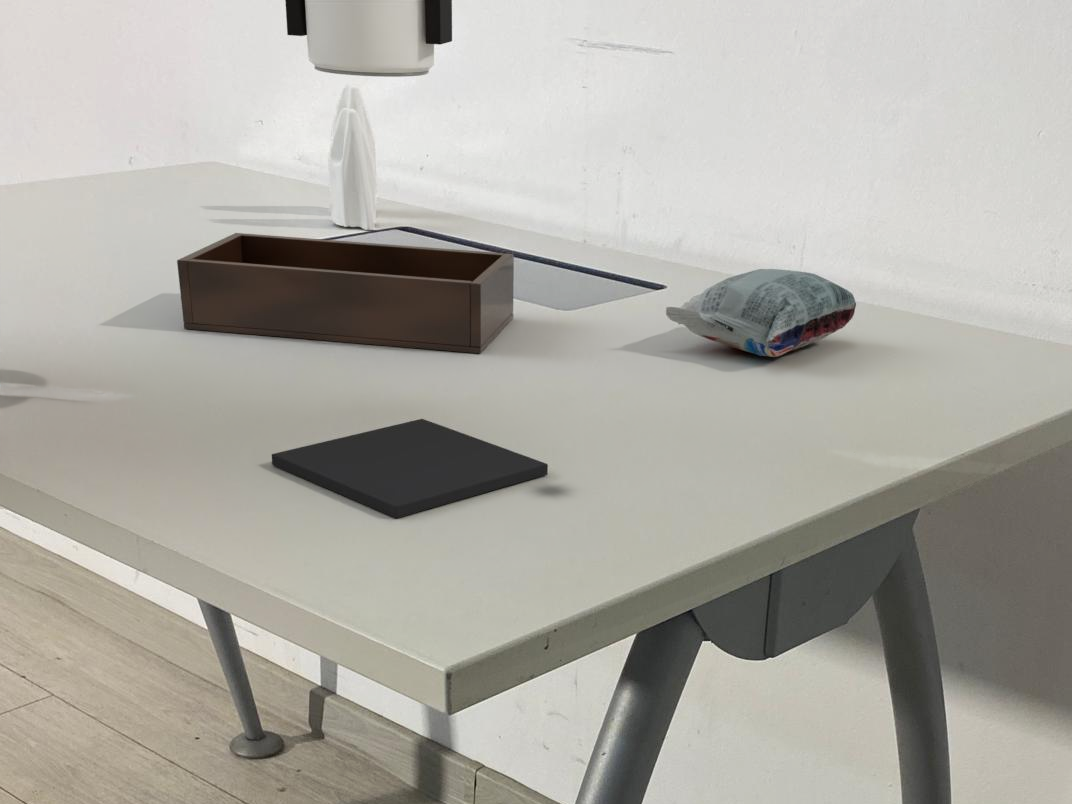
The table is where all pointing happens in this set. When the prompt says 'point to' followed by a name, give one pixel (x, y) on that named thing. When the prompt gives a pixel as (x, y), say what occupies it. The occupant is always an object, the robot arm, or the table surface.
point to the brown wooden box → (348, 292)
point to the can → (368, 37)
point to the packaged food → (767, 311)
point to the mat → (409, 466)
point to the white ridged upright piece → (352, 163)
